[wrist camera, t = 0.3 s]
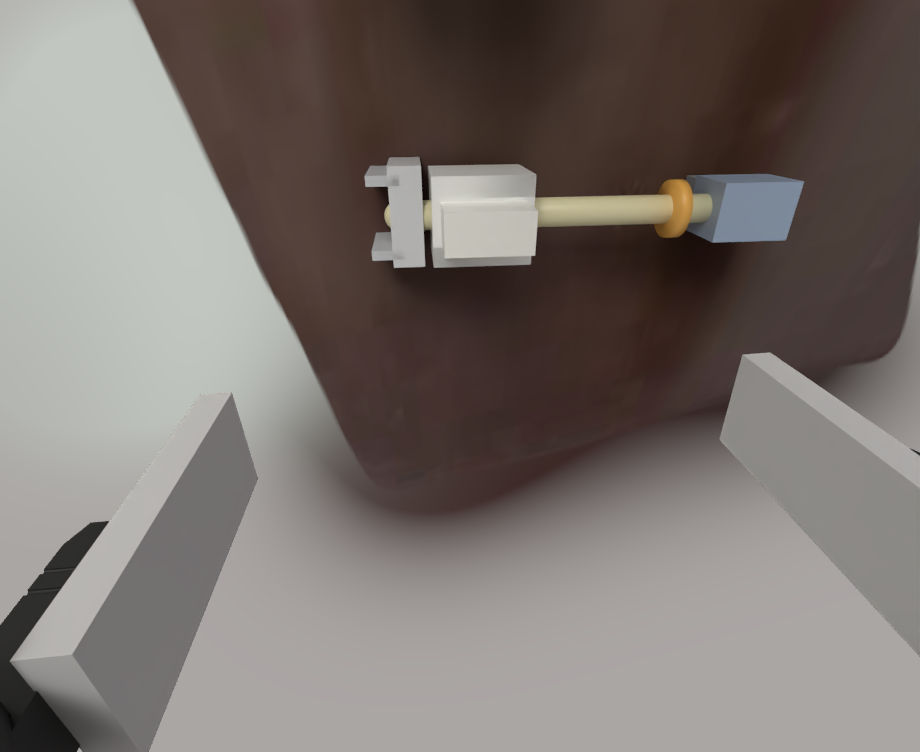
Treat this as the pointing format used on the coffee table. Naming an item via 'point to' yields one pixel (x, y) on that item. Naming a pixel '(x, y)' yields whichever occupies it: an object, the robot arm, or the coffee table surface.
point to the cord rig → (607, 209)
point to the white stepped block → (482, 215)
